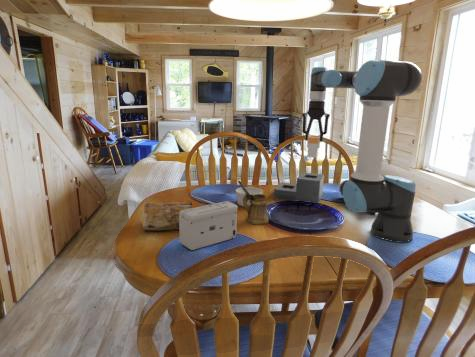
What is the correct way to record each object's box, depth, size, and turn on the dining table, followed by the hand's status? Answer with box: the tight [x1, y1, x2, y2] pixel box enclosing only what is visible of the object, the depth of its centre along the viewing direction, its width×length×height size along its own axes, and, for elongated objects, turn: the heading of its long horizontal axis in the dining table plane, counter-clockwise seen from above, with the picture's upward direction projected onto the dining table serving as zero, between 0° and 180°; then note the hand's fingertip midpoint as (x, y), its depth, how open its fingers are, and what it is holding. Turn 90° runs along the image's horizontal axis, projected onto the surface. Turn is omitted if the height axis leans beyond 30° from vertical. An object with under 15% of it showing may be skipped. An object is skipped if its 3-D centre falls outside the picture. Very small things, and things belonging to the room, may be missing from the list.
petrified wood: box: [142, 201, 194, 232], centre depth 132 cm, size 19×13×10 cm
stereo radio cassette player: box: [178, 194, 238, 251], centre depth 118 cm, size 21×8×20 cm, turn 127°
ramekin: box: [235, 186, 264, 208], centre depth 163 cm, size 13×13×7 cm
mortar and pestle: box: [237, 180, 269, 226], centre depth 139 cm, size 9×14×18 cm, turn 93°
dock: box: [273, 171, 325, 203], centre depth 175 cm, size 16×23×12 cm
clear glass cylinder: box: [307, 135, 319, 158], centre depth 168 cm, size 4×4×10 cm
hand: (313, 147), depth 168 cm, fingers closed on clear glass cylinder, 4 cm apart
